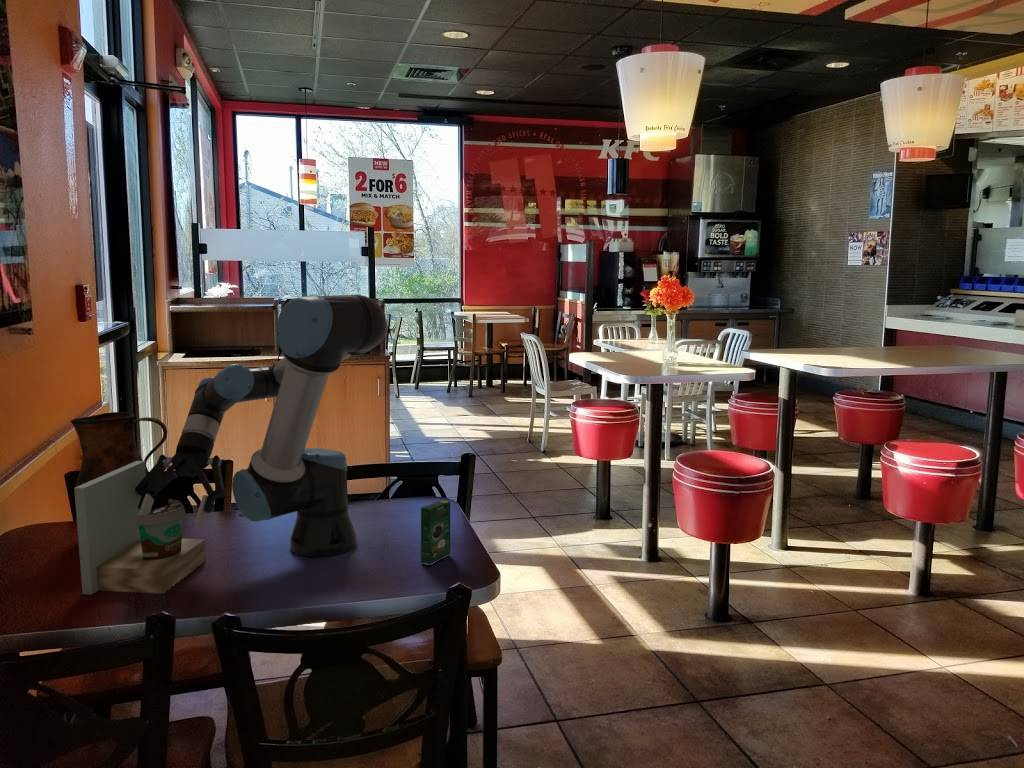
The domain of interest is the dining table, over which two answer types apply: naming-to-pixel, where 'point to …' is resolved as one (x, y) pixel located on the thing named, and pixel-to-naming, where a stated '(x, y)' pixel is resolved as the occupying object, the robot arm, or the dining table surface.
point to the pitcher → (109, 443)
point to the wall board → (107, 518)
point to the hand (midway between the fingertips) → (169, 524)
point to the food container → (161, 531)
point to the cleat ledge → (149, 569)
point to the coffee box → (435, 531)
